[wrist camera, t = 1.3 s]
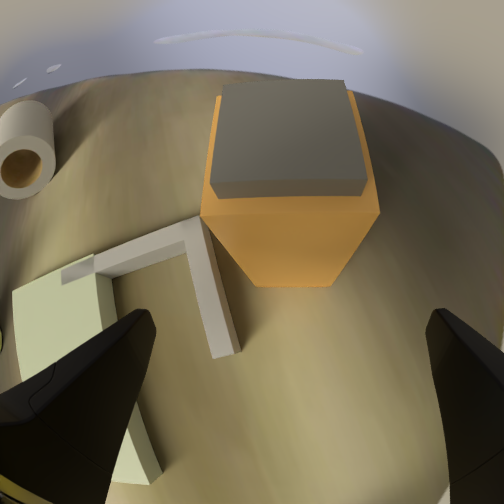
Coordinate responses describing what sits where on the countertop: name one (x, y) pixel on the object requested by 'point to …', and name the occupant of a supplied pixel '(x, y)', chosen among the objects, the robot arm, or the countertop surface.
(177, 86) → the countertop surface
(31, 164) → the toilet paper
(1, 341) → the tube
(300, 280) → the chute block
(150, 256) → the plate with l-bracket
